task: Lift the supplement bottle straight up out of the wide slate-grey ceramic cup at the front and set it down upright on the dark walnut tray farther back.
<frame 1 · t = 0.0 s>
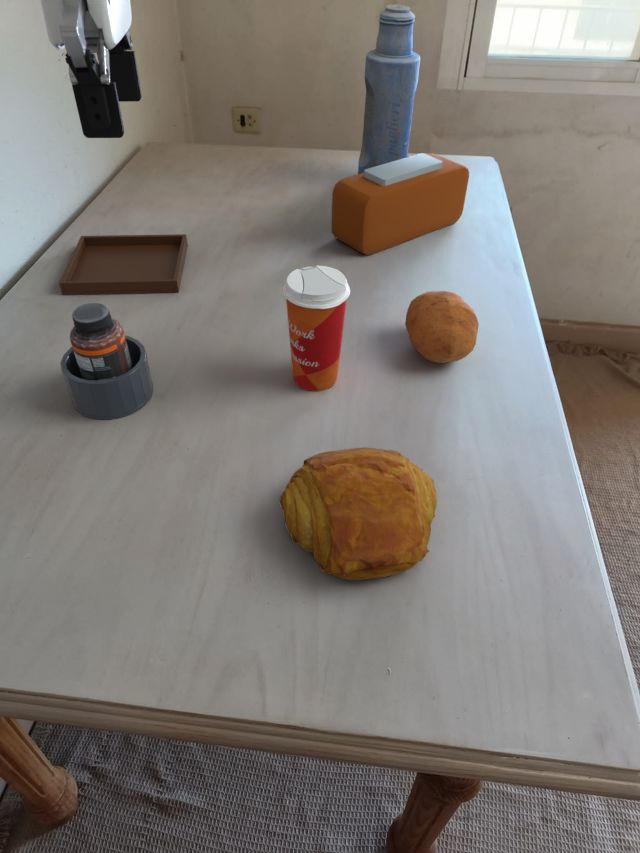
hand: (115, 117, 55), 32 cm above the table, tool pointing down, fingers open, 9 cm apart
potato: (438, 352, 85), on the table
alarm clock: (397, 231, 111), on the table
paper cup: (315, 378, 80), on the table
grey cup: (113, 393, 77), on the table
walnut tray: (128, 268, 100), on the table
bottle: (381, 184, 126), on the table
supplement bottle: (113, 391, 77), resting on grey cup
croissant: (359, 528, 63), on the table
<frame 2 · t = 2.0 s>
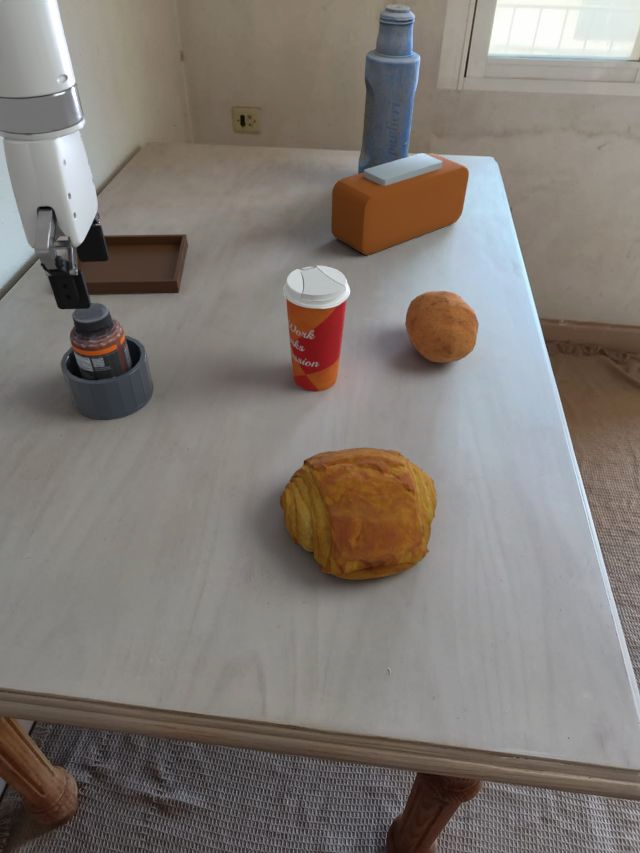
hand: (85, 282, 67), 15 cm above the table, tool pointing down, fingers open, 9 cm apart
nothing on the table moved.
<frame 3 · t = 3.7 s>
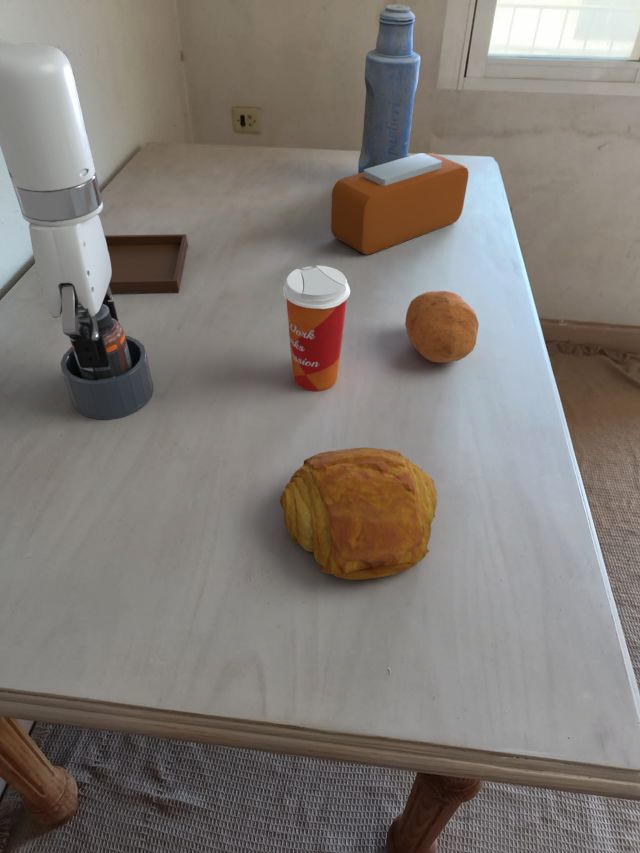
hand: (100, 347, 72), 7 cm above the table, tool pointing down, fingers closed on supplement bottle, 6 cm apart
supplement bottle: (113, 391, 77), resting on grey cup, touching gripper
everything else where it was.
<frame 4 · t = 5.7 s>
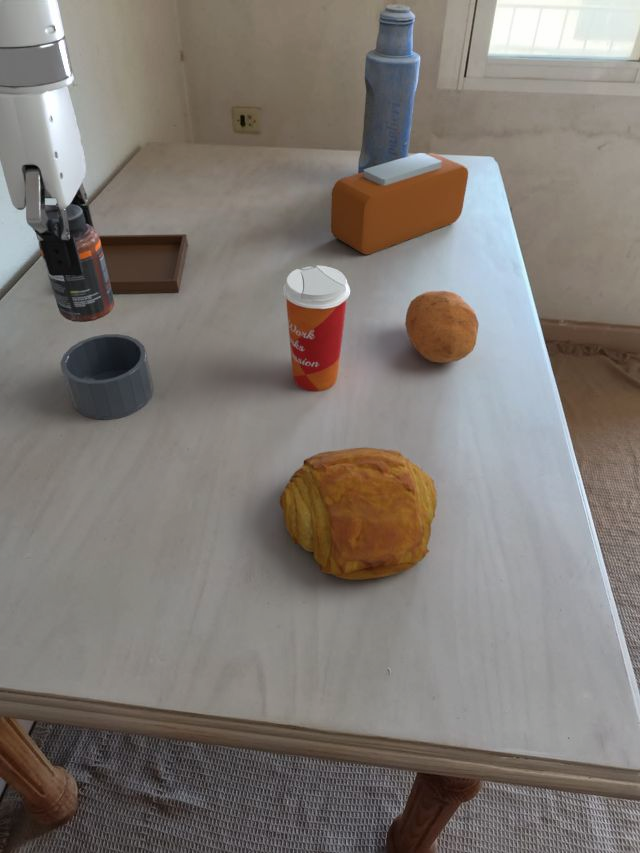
hand: (73, 256, 65), 18 cm above the table, tool pointing down, fingers closed on supplement bottle, 6 cm apart
supplement bottle: (88, 311, 70), point 12 cm above the table, touching gripper
everything else where it was.
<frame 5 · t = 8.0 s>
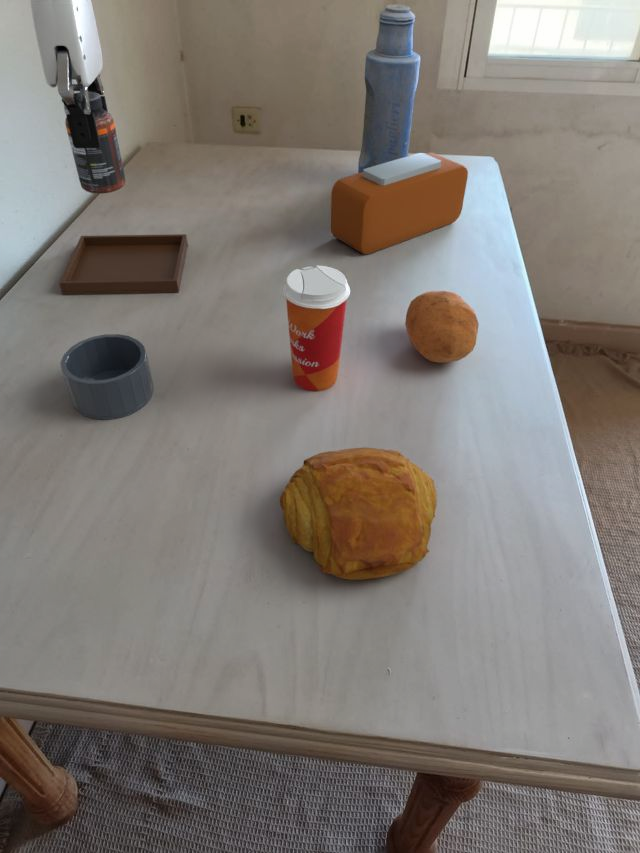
hand: (92, 136, 81), 22 cm above the table, tool pointing down, fingers closed on supplement bottle, 6 cm apart
supplement bottle: (104, 188, 85), point 15 cm above the table, touching gripper
everything else where it was.
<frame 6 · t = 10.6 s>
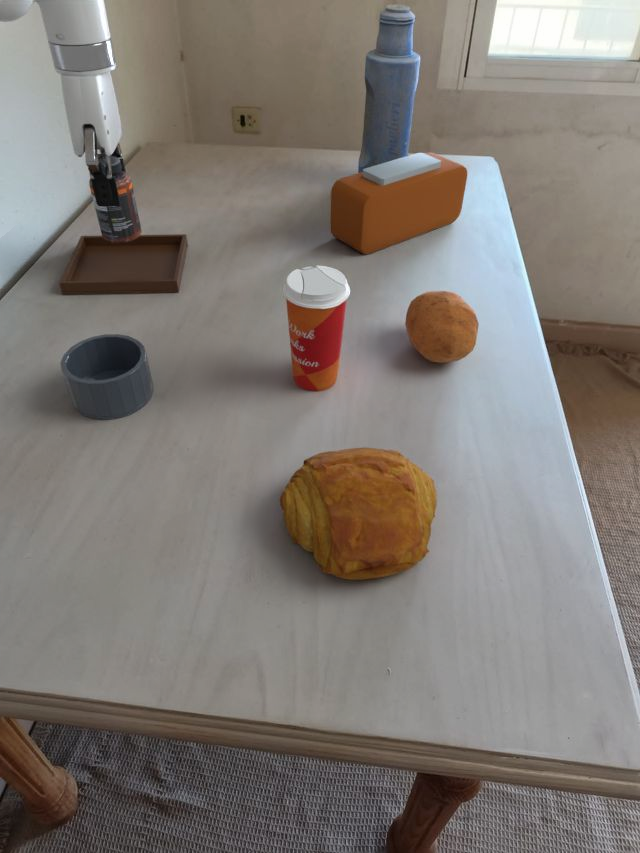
hand: (113, 194, 91), 12 cm above the table, tool pointing down, fingers closed on supplement bottle, 6 cm apart
supplement bottle: (122, 237, 96), point 5 cm above the table, touching gripper
everything else where it was.
when the fingers open (7 cm above the table, at t = 12.3 s): supplement bottle stays where it is, resting on walnut tray.
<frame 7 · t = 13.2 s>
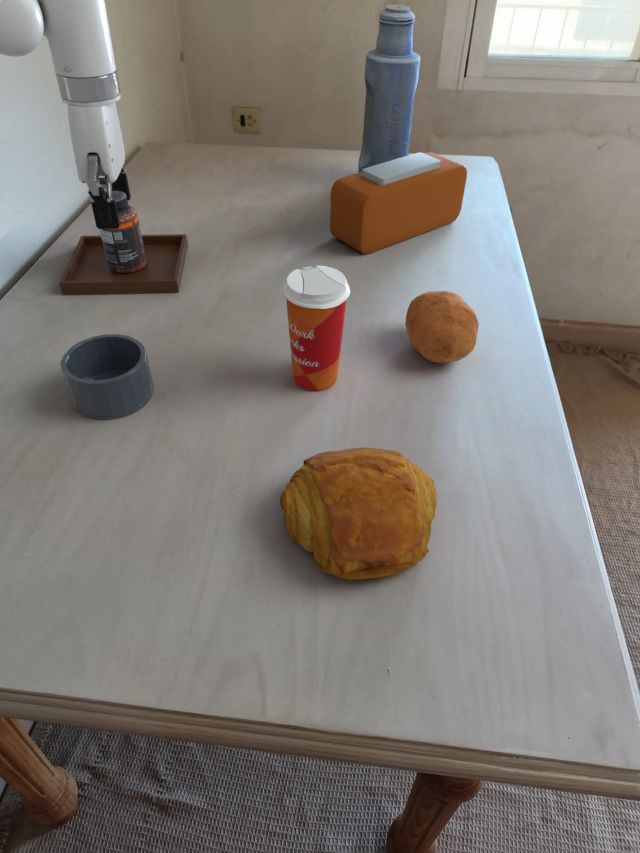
hand: (114, 213, 93), 9 cm above the table, tool pointing down, fingers open, 9 cm apart
supplement bottle: (128, 267, 99), resting on walnut tray
everything else where it was.
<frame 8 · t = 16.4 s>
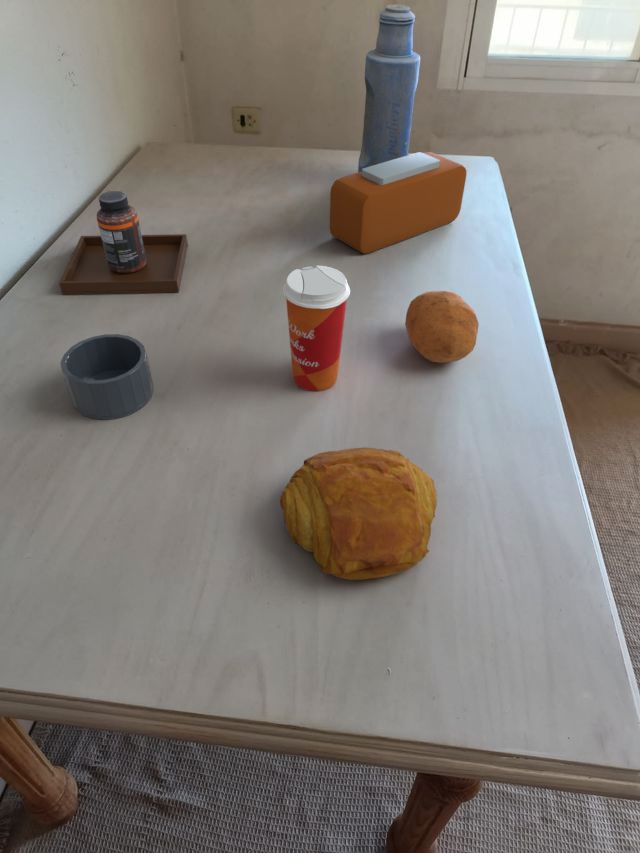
nothing on the table moved.
at the end: supplement bottle inside the target area in the walnut tray (0.0 cm from its centre), point 0.3 cm above the walnut tray's base; supplement bottle tilted 0° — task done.
